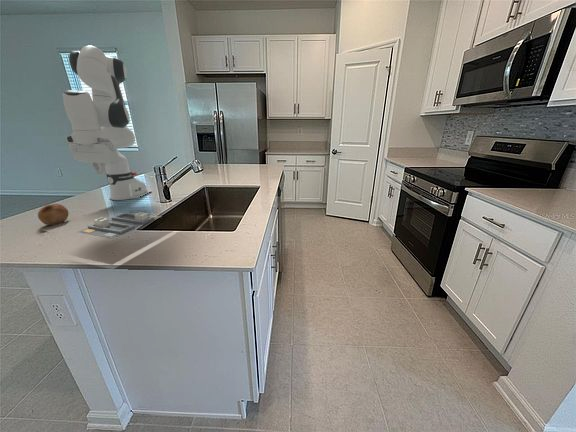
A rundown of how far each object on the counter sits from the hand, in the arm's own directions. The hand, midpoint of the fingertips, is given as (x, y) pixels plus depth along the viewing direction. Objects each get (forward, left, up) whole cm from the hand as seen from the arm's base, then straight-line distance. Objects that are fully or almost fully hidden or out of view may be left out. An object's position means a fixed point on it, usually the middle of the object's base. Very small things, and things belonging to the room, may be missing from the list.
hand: (101, 173), depth 97 cm
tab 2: (-4, +12, -20) cm, 24 cm away
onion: (+8, -22, -22) cm, 32 cm away
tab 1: (+6, +2, -20) cm, 21 cm away
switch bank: (+1, +7, -22) cm, 23 cm away
